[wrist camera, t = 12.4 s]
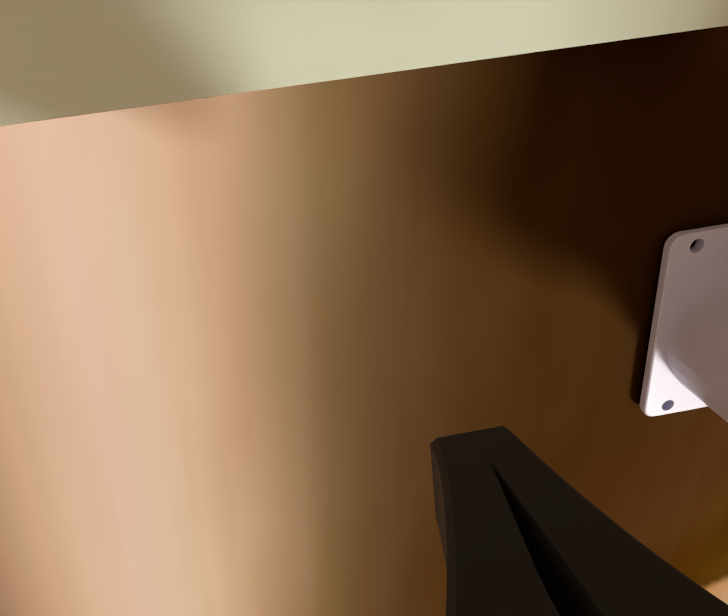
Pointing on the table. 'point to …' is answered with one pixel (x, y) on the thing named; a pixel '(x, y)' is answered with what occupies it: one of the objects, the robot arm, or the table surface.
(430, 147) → the table surface
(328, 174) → the table surface
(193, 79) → the duct lid
